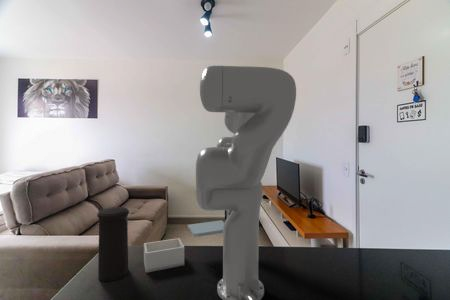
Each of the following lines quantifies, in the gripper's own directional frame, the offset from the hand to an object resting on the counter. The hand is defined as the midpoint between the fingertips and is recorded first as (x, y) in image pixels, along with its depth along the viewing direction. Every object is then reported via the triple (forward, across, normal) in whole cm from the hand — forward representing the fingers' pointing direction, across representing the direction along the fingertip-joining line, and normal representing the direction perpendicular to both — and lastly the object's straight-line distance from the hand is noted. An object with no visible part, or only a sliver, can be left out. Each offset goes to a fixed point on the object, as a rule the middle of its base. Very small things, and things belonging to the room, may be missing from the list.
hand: (230, 221), depth 87 cm
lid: (+3, 0, +7) cm, 7 cm away
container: (+11, 0, +39) cm, 41 cm away
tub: (+11, +1, +24) cm, 27 cm away
